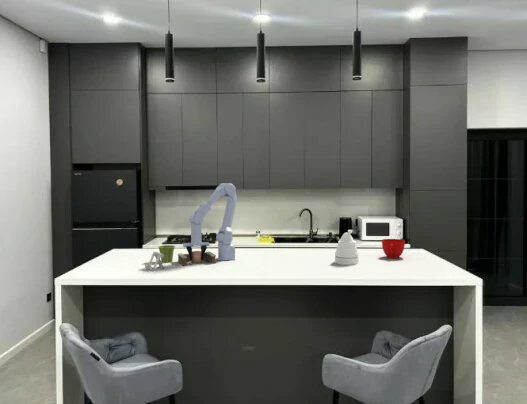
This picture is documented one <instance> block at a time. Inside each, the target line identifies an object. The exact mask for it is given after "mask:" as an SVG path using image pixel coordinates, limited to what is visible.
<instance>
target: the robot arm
mask: <svg viewBox="0 0 527 404" xmlns="http://www.w3.org/2000/svg"><path fill="white" fill-rule="evenodd" d="M236 190H237V188H236V187H235V184H233V183H232V182H228V183H226V182H225V183H224V182H222V183H220V184H219V185H218V186H216V188H215V190H214V191H213V193H212V194H211V195H210V196H209V198H208V199H207V201H206V202H202V203H200V204H199V206H198V208H197V210H195V211H194V213H192V214H191V215H190V216H189V218H188V221H189V222H190V236H191V237H190V242H187V243H182V247H183V248H185V249H186V250H187V251H186V252H187V254H189V256H190V260H192V251H193V248H194V247H200V251H202V254H201V259H203V257H204V253H205V252H207V249H208V247H210V242H208V241H207V242H206V241H204V242H203V241H202V238H203V237H202V223H203V222H204V219H205V217H206V216H207V215H208V213H210V211H211V210H212V209H211V207H212V206H213V204H215V202H216V201H217V200H218V199H219V198H220V197H223V196H224V198H225V199H226V205H225V210H224V215H223V219H222V224H221V227H220V228H219V229H218V232H217V234H216V237H215V239H216V241H217V257H216V260H217V261H235V260H236V248H235V247H236V246H235V244H234V243H232V242H233V238H234V237H233V230H232V225H233V220H234V216H235V211H236V207H237V206H236V205H237V201H238V196H237V192H236Z"/></svg>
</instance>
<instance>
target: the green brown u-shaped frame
mask: <svg viewBox="0 0 527 404" xmlns="http://www.w3.org/2000/svg"><path fill="white" fill-rule="evenodd" d="M216 256H217V254H215V253H213V252H212V251H208V250H207V251H205V253H204V257H203V259H201V261H208V262H209V263H211V264H216V260H217V259H216V258H217V257H216ZM177 262H179V264H180V265H182V266H187V265H188V263H187V262H192V260H190V256H189V253H183V252H181V253H179V252H178V253H177Z"/></svg>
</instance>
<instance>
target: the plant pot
mask: <svg viewBox="0 0 527 404" xmlns="http://www.w3.org/2000/svg"><path fill="white" fill-rule="evenodd" d="M157 248H158V251H159V253H162V254H163V255H164V256H163V258H160V260H161V262H162V263H172V262H173V258H174V250H175V248H176V246H175V245H174V244H173V245H172V244H169V245H168V244H165V245H158V247H157Z"/></svg>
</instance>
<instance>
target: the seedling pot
mask: <svg viewBox="0 0 527 404" xmlns="http://www.w3.org/2000/svg"><path fill="white" fill-rule="evenodd" d="M201 254H202V251H201V250H192V261H191V263H193V264H201V263H202V260H201Z"/></svg>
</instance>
